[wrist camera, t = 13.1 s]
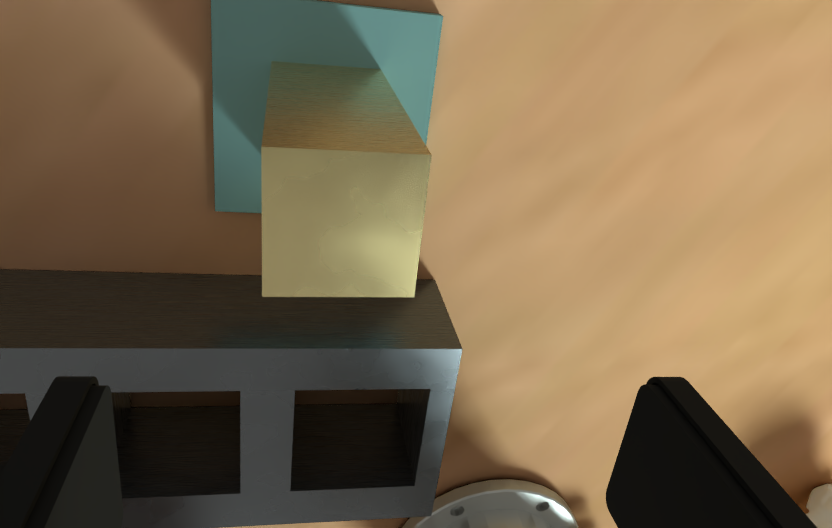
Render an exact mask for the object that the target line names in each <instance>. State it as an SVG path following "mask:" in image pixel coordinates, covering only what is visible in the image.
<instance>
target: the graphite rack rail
mask: <svg viewBox="0 0 832 528" xmlns="http://www.w3.org/2000/svg"><path fill="white" fill-rule="evenodd" d="M461 354H462V347H461V344H460V342H459V339H458V337H457V334H456V332H455V329H454V327H453V324H452V322H451V319H450V317H449V314H448V312H447V309H446V307H445V304H444V302H443V299H442V297H441V294H440V292H439V289H438V286H437V284H436V281H435V280H422V279H416V288H415V296H414V297H262V276H256V275H214V274H173V273H131V272H90V271H48V270H7V269H0V394H16V393H25V397H26V402H27V407H28V409H26V410H0V462H8V460H9V458H10V457H11V455H12V453H13V451H14V450H15V448H16V446H17V444H18V442H19V441H20V439H21V437H22V435H23V433H24V432H25V430H26V428H27V426H28V425H29V423H30V421H31V419H32V417H33V416H34V414H35V412H36V410H37V408H38V407H39V405H40V403H41V401H42V400H43V398H44V396H45V394H46V392H47V391H48V389H49V387H50V385H51V383H52V382H53V380H54V379H55V378H56V377H58V376H95V377H96V378H97V380H98V382H99V385H108V386H109V387H110V389H111V396H112V405H113V415H114V425H115V435H116V445H117V454H118V464H119V474H120V484H121V493H122V503H123V519H122V526H121V528H218V527H237V526H256V525H275V524H294V523H313V522H332V521H351V520H370V519H389V518H407V517H426V516H431V515H432V510H433V504H434V499H435V494H436V488H437V483H438V478H439V472H440V467H441V461H442V456H443V451H444V445H445V440H446V434H447V429H448V424H449V418H450V413H451V407H452V402H453V397H454V391H455V386H456V380H457V375H458V370H459V364H460V359H461ZM367 389H398V396H397V404H338V405H294V399H295V390H367ZM191 391H240V406H214V407H151V408H131V404H130V394H129V392H191Z"/></svg>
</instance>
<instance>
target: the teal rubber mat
mask: <svg viewBox="0 0 832 528" xmlns="http://www.w3.org/2000/svg"><path fill="white" fill-rule="evenodd" d="M442 20H443V16H442V15H441V14H434V13H425V12H416V11H407V10H398V9H389V8H380V7H371V6H362V5H353V4H344V3H335V2H326V1H317V0H211V34H212V83H213V131H214V180H215V211H223V212H246V213H262V181H261V145H262V137H263V129H264V121H265V112H266V104H267V96H268V87H269V79H270V71H271V62H272V61H276V62H290V63H304V64H317V65H331V66H345V67H358V68H372V69H381V70H382V72H383V74H384V75H385V77H386V79H387V80H388V82H389V84H390V86H391V87H392V89H393V91H394V92H395V94H396V96H397V97H398V99H399V101H400V102H401V104H402V106H403V108H404V109H405V111H406V113H407V114H408V116H409V118H410V119H411V121H412V123H413V125H414V126H415V128H416V130H417V131H418V133H419V135H420V136H421V138H422V140H423V141H424V143H425V145H426V141H427V134H428V126H429V119H430V111H431V103H432V96H433V88H434V81H435V73H436V66H437V58H438V50H439V43H440V35H441V28H442Z"/></svg>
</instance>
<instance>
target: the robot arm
mask: <svg viewBox="0 0 832 528" xmlns="http://www.w3.org/2000/svg"><path fill="white" fill-rule="evenodd" d="M606 503H607V507H608V510H609V512H610V514H611V516H612V517H613V519H614V521H615V523H616V525H617V527H618V528H817V527H816V525H815V524H814V523H813V522H812V521H811V520H810V519H809V518H808V516H807V515H806V514H805V513H804V512H803V511H802V510H801V509H800V507H799V506H798V505H797V504H796V503H795V502H794V501H793V499H792V498H791V497H790V496H789V495H788V494H787V493H786V492H785V490H784V489H783V488H782V487H781V486H780V485H779V484H778V483H777V481H776V480H775V479H774V478H773V477H772V476H771V475H770V474H769V472H768V471H767V470H766V469H765V468H764V467H763V466H762V464H761V463H760V462H759V461H758V460H757V459H756V458H755V457H754V455H753V454H752V453H751V452H750V451H749V450H748V449H747V448H746V446H745V445H744V444H743V443H742V442H741V441H740V440H739V438H738V437H737V436H736V435H735V434H734V433H733V432H732V431H731V429H730V428H729V427H728V426H727V425H726V424H725V423H724V422H723V420H722V419H721V418H720V417H719V416H718V415H717V414H716V413H715V411H714V410H713V409H712V408H711V407H710V406H709V405H708V403H707V402H706V401H705V400H704V399H703V398H702V397H701V396H700V394H699V393H698V392H697V391H696V390H695V389H694V388H693V387H692V385H691V384H690V383H689V382H688V381H687V380H686V379H684V378H682V377H653V378H650V379H649V380H648V382H647V384H646V385H642V386H641V387H640V389H639V391H638V393H637V397H636V400H635V403H634V406H633V409H632V412H631V415H630V418H629V422H628V425H627V428H626V431H625V434H624V437H623V440H622V443H621V447H620V450H619V453H618V456H617V459H616V462H615V465H614V469H613V472H612V475H611V478H610V481H609V484H608V487H607V491H606ZM122 519H123V503H122V493H121V484H120V474H119V464H118V454H117V445H116V435H115V425H114V415H113V405H112V396H111V389H110V387H109V386H108V385H99V382H98V380H97V378H96V377H95V376H58V377H56V378H55V379H54V380H53V382H52V383H51V385H50V387H49V389H48V391H47V392H46V394H45V396H44V398H43V400H42V401H41V403H40V405H39V407H38V408H37V410H36V412H35V414H34V416H33V417H32V419H31V421H30V423H29V425H28V426H27V428H26V430H25V432H24V433H23V435H22V437H21V439H20V441H19V442H18V444H17V446H16V448H15V450H14V451H13V453H12V455H11V457H10V458H9V460H8V462H0V528H121V526H122ZM402 528H579V527H578V525H577V522H576V520H575V518H574V515H573V513H572V511H571V509H570V508H569V506H568V505H567V503H566V502H565V500H563V499H562V498H561V497H560V496H559V495H558V494H557V493H556V492H554V491H552V490H550V489H548V488H546V487H544V486H542V485H539V484H535V483H532V482H529V481H521V480H513V479H502V480H488V481H483V482H477V483H472V484H469V485H466V486H463V487H460V488H457V489H454V490H452V491H450V492H447V493H445V494H443V495H441V496H439V497H437V498H435V499H434V504H433V510H432V515H431V516H426V517H411V518H410V519H409V520H408V521H407V522H406V523H405V525H404V526H403V527H402Z"/></svg>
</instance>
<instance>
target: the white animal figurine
mask: <svg viewBox="0 0 832 528" xmlns="http://www.w3.org/2000/svg"><path fill="white" fill-rule="evenodd" d="M806 507H807V509H808V510H809V513H807V514H806V515H807V516H808V518H809V519H810V520H811V521H812V522H813V523H814V524H815V525H816V527H817V528H832V484H824V485H822V486H819V487H816V488H814V489H813V490H812V491H811V493H810V495H809V499H808V502H807V505H806Z"/></svg>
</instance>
